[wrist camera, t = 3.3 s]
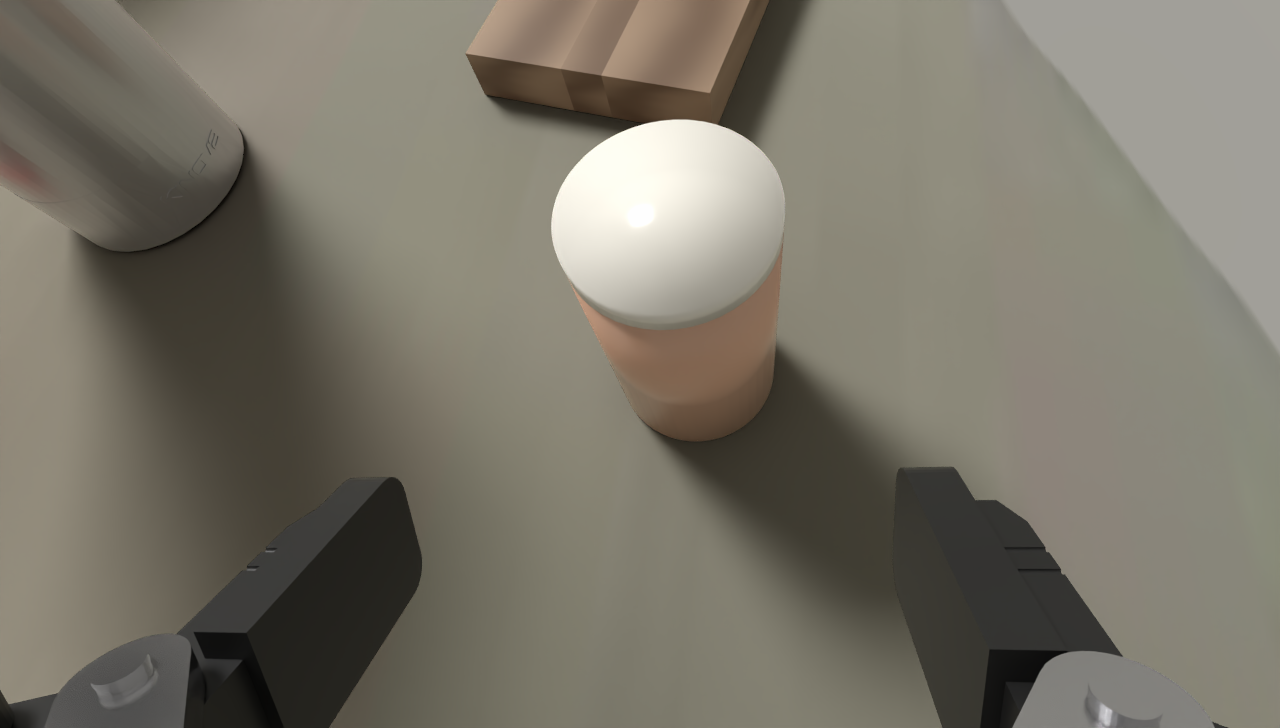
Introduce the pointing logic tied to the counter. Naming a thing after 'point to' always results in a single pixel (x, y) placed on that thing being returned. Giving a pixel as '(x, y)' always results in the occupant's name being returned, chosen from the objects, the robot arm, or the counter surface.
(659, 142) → the terracotta canister
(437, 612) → the counter surface
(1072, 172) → the counter surface
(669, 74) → the walnut board
